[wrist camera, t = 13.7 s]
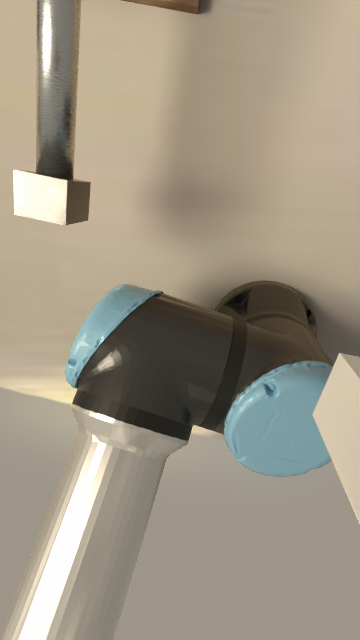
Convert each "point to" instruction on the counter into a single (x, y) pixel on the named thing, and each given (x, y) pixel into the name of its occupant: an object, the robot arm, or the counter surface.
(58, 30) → the shaft
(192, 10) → the stand
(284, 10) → the counter surface
